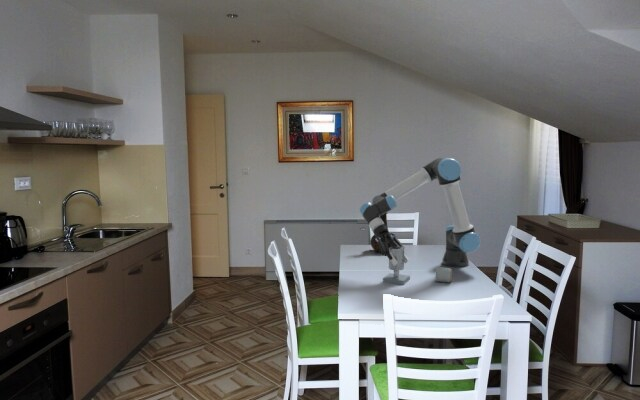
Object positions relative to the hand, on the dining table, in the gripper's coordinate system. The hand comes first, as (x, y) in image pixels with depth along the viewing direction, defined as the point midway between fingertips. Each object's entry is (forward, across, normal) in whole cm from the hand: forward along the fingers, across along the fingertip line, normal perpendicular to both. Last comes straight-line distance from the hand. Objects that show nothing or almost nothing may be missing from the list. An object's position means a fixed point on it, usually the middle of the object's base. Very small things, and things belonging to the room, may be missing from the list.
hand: (401, 263), depth 232 cm
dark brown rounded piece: (-32, -47, -47) cm, 74 cm away
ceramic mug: (+16, -18, +2) cm, 24 cm away
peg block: (+5, 0, -9) cm, 11 cm away
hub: (0, 0, -5) cm, 5 cm away
